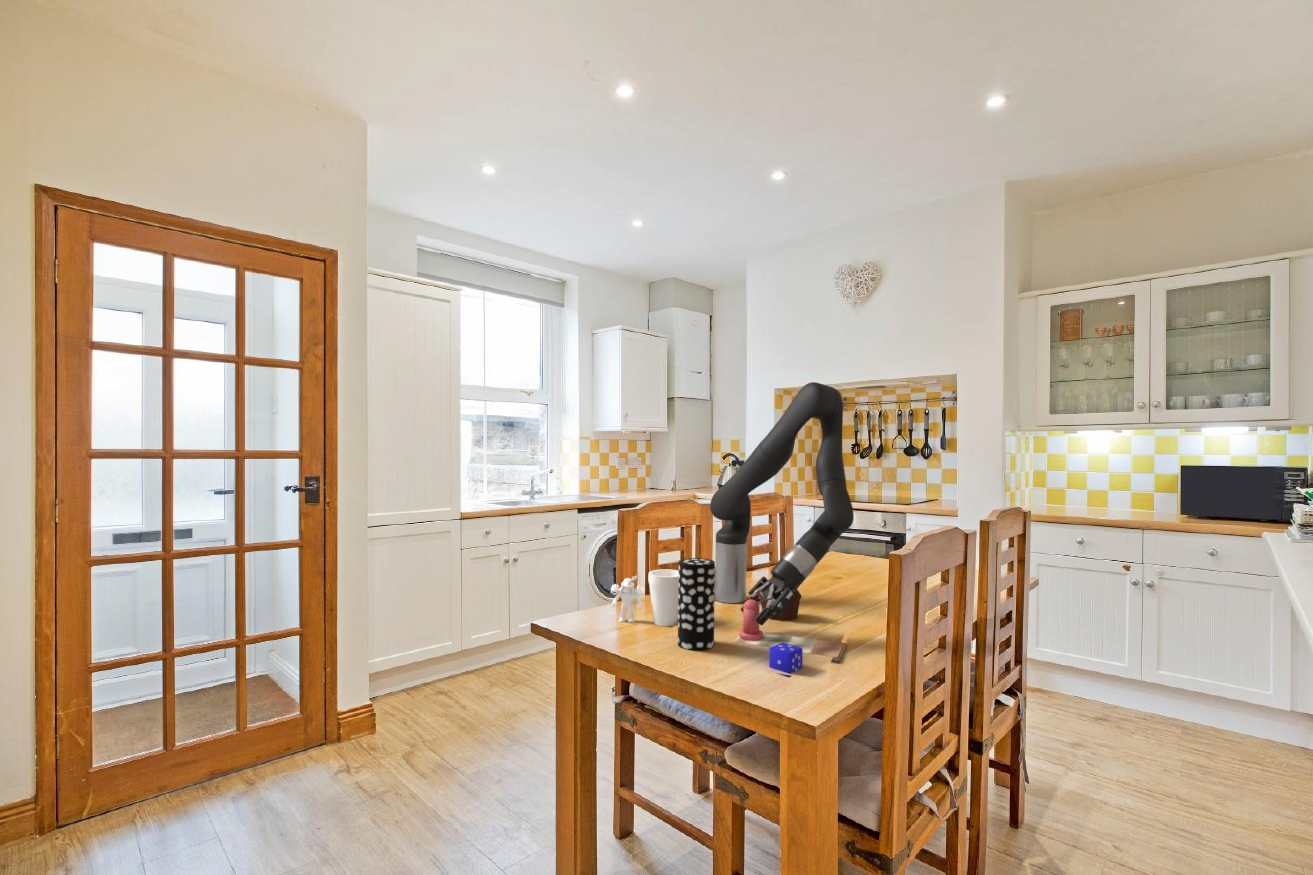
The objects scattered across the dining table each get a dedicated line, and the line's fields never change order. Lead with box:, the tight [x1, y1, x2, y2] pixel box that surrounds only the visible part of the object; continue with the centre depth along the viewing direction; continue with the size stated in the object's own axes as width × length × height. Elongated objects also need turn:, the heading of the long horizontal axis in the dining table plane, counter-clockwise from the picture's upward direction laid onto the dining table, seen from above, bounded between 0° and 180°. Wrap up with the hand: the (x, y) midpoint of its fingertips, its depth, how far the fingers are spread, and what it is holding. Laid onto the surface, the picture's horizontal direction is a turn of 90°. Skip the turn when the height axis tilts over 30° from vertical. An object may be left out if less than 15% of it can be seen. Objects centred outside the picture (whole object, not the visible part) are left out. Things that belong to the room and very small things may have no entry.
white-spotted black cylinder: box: [677, 557, 715, 652], centre depth 146 cm, size 8×8×20 cm
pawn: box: [738, 598, 764, 641], centre depth 152 cm, size 6×6×9 cm
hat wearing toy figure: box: [610, 574, 645, 623], centre depth 167 cm, size 9×4×12 cm, turn 80°
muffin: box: [760, 589, 802, 622], centre depth 170 cm, size 12×11×10 cm
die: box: [768, 643, 804, 678], centre depth 132 cm, size 5×5×5 cm
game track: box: [732, 631, 848, 664], centre depth 148 cm, size 25×13×1 cm, turn 66°
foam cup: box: [648, 568, 679, 627], centre depth 165 cm, size 10×9×13 cm
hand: (750, 617), depth 152 cm, fingers open, 8 cm apart
